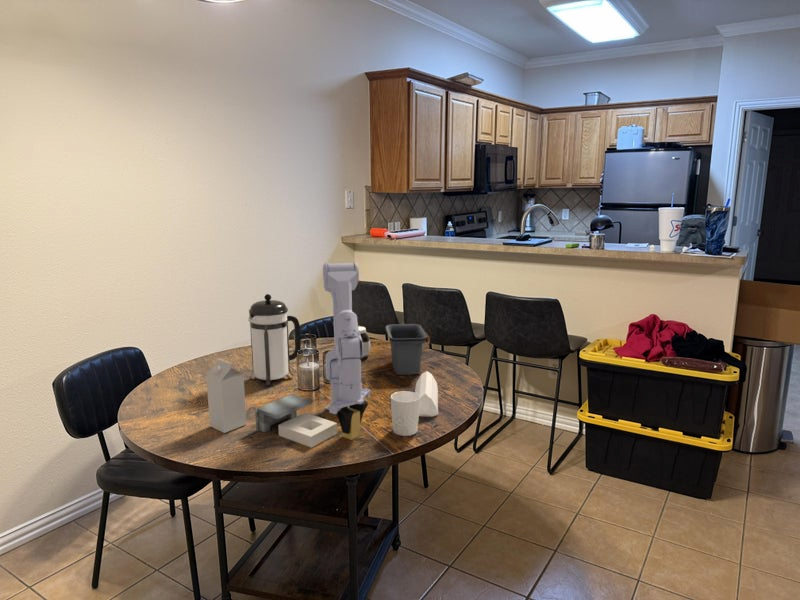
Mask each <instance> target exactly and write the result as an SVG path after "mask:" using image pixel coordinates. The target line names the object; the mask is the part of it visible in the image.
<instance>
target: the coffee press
mask: <svg viewBox="0 0 800 600" xmlns="http://www.w3.org/2000/svg"><path fill="white" fill-rule="evenodd" d="M263 298H264V300H258V301H256V302H254V303H253V304H251V306H250V308H249V310H248V322H249V326H250V342H251V343H250V346H251V361H252V362H251V365H252V372H251V374H250V376H249V380H251V381H253V380H255V379H259V380H263V381H265V387H271V384H272V381H273V380H280V379H283V378H285V377H287V378H288V379H289V380H293V378H294V377H295V375H294V374H293V373H292V371H291V362H290V361H293V360H295V359H297V358H298V356H297V352H298V350H300V351H301V348H302V347H301V346H302V345H301V342H302V341H301V326H300V321H299V320H298V318H297V317H296V316H293V315H288V312H289V308H288V306H287V305H286V304H285V302H283V301H280V300H273V299H272V295H271V294H269V293H266V294H265V296H264V297H263ZM289 322H292V323H293V326H294V351H293V353H291V354H290V343H289V342H290V339H289V338H290V337H289ZM288 374H290V375H291V376H292V377H291V376H289V375H288ZM252 375H254V377H252Z"/></svg>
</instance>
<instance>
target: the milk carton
mask: <svg viewBox="0 0 800 600" xmlns="http://www.w3.org/2000/svg"><path fill="white" fill-rule="evenodd" d="M215 361H216V362H215V363H214V365H212V367H211V368H210V370H209V371H208V372H207V373H206V377H205V378H206V379H205V380H206V389H207V403H208V416H209V417H208V418H209V427H211V428H213V429H214V430H217V431H219V432H221V433H223V434H226V433H228V432H231V431H233V430H236V429H239V428H241V427H244V426H246V425H247V414H246V413H247V411H246V397H245V396H246V395H245V394H246V393H245V382H244V381H245V379H244V376H245V375H244V373H242V372H241V371H239V370H238V369H236V368H234V367H233V365H232V364H233V363H232V362H228V361H226V360H223V359H221V358H218V357H216V360H215Z"/></svg>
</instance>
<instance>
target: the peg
mask: <svg viewBox="0 0 800 600" xmlns="http://www.w3.org/2000/svg"><path fill="white" fill-rule="evenodd" d="M349 410H352V411H354V413H353V415H352V419H351V429H350V433H349V434H346V433H343V432H342V431H341V437H342V438H344V439H347V440H350V441H353V440H355V439H357V438H358V437H360V436H361V424H360V411H359V410H356V409H352V408H349Z"/></svg>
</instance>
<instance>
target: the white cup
mask: <svg viewBox="0 0 800 600" xmlns="http://www.w3.org/2000/svg"><path fill="white" fill-rule="evenodd" d="M419 405H420V396H419V394H417V393H415V391H408V390H402V391H396V392H393V393H391V395H390V410H391V423H392V432H393V433H394V434H396V435H398V436H402V437H403V436H404V437H409V436H413V435H415V434H417V432H418V429H419V428H418V427H419V417H420V416H419Z"/></svg>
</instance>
